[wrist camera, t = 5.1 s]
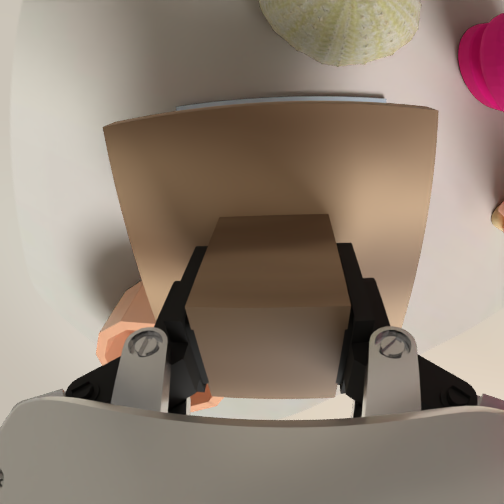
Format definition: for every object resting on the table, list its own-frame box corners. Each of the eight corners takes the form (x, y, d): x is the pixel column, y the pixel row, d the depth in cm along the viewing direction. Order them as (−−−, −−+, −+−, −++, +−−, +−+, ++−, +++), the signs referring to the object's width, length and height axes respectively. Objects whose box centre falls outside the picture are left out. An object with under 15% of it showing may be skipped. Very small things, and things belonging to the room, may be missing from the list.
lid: (114, 121, 11) (12, 173, 6) (427, 106, 10) (526, 149, 5) (173, 341, 18) (142, 433, 12) (389, 340, 16) (412, 436, 11)
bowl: (107, 276, 26) (77, 317, 22) (229, 277, 25) (215, 326, 20) (141, 361, 32) (123, 401, 27) (243, 369, 30) (235, 415, 26)
